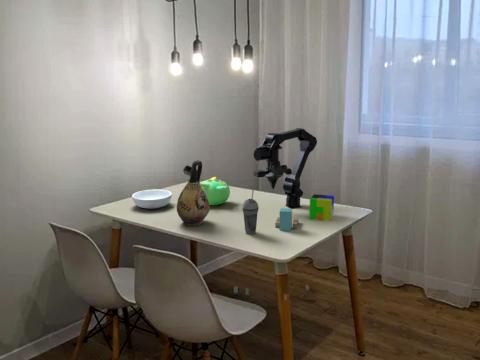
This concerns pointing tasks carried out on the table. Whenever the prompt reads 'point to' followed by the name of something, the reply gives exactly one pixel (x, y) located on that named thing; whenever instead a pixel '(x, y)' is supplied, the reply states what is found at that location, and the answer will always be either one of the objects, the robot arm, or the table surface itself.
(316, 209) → the puzzle toy
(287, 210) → the block
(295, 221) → the chute
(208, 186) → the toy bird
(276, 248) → the table surface
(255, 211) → the beverage cup
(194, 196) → the ceramic jug
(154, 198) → the serving bowl
